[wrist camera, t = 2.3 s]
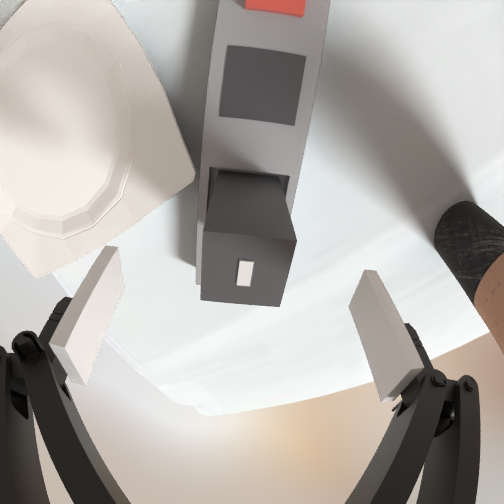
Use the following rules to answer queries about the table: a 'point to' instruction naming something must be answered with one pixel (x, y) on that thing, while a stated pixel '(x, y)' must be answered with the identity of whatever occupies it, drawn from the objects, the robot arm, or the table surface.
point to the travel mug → (476, 260)
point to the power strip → (260, 93)
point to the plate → (80, 132)
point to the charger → (246, 241)
